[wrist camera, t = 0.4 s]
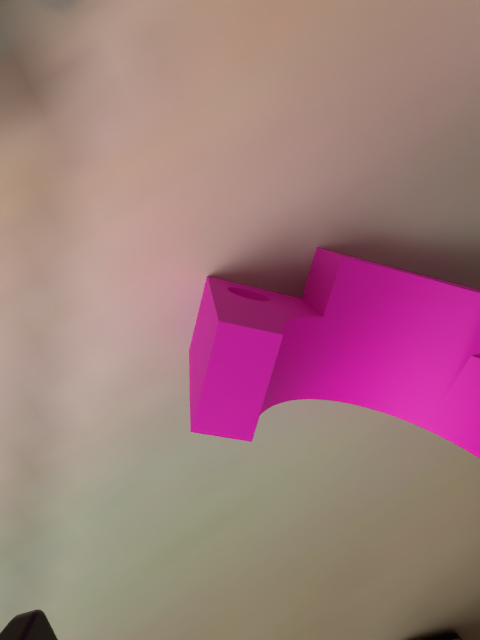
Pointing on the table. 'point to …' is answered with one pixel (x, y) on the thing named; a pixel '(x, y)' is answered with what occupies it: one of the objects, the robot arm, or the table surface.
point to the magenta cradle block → (340, 349)
